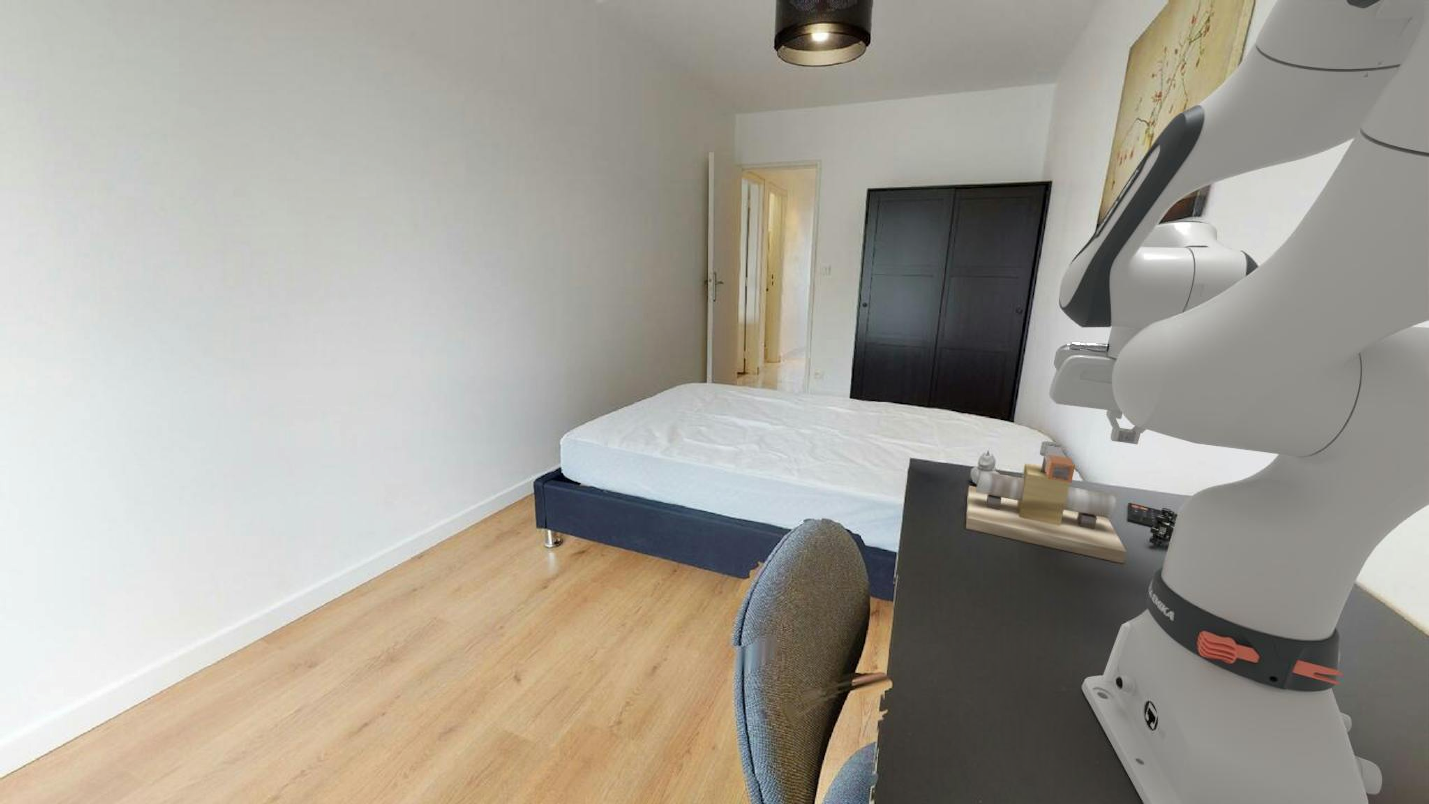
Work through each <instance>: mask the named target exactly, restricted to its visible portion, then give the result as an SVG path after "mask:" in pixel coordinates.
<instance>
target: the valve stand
mask: <svg viewBox="0 0 1429 804" xmlns="http://www.w3.org/2000/svg"><path fill="white" fill-rule="evenodd" d="M1045 467H1046V460H1045V458H1044V457H1043V461H1042V464H1041V465H1037V464H1032V463H1024V466H1023V471H1022V472H1023V473H1022V477H1017V476H1011V475H1008V474H1007V475H1005V474H1000V473H999V474H996V473H990V472H984V471H979V475H978V481H977V484H976V486H972V485H968V490H967V496H966V498H967V499H966V500H967V501H966V519H965V520H966V521H965V523H966V524H965V528H966V530H970V531H975V532H981V533H985V534H989V535H994V536H999V537H1002V538H1007V539H1011V540H1016V541H1019V542H1020V541H1021V542H1025V543H1030V544H1034V545H1037V546H1038V545H1039V546H1042V547H1043V546H1044V547H1047V548H1052V549H1056V550H1061V551H1065V552H1070V553H1074V554H1079V555H1084V556H1088V557H1093V558H1096V559H1103V560H1107V561H1110V562H1114V563H1119V564H1124V563H1125V561H1126V557H1127V550H1126V549H1125V547H1124V544H1123V542H1122V541H1121V539H1120V537H1119V536H1118V533H1116V530H1115V529H1114V527H1113V524H1111V522H1110V520H1112V519H1113V518H1114V516H1115V514H1116V509H1117V497H1116V495H1115V493H1114V494H1112V493H1108V492H1101V491H1096V490H1090V489H1085V488H1078V487H1073V486H1070V484H1071V483H1070V482H1065V481H1059V480H1053V479H1048V478H1047V475H1046V472H1045ZM1109 519H1110V520H1109Z"/></svg>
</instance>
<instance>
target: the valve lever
mask: <svg viewBox="0 0 1429 804" xmlns="http://www.w3.org/2000/svg"><path fill="white" fill-rule="evenodd" d="M1039 455H1040V456H1043V459H1044V458H1045V460H1046V467H1045V472H1046V475H1047V478H1048V479H1053V480H1059V481H1065V482H1070V484H1071V483H1072V481H1073V477H1074V472H1075V467H1076V466H1075V464H1074V462H1073V460H1072V458H1070V457H1066V456H1065V454H1064V452H1063V445H1062V444H1060V443H1058V442H1054V441H1048V440H1047V441H1041V445H1040V450H1039Z"/></svg>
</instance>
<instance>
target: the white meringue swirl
mask: <svg viewBox="0 0 1429 804" xmlns="http://www.w3.org/2000/svg"><path fill="white" fill-rule="evenodd" d="M996 469H997V467H996V458H995V457H994V455H993V454H990V450H987V452H983V453H982V455H981V456H980V457H979V458H978V462H977V466H974V467H972V468H971V469H970V478H971V480H972V483H974V484H975V485H977V481H978V475H979V471H984V472H990V473H996V474H1000V472H998V471H997V470H996Z"/></svg>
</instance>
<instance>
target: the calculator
mask: <svg viewBox="0 0 1429 804" xmlns="http://www.w3.org/2000/svg"><path fill="white" fill-rule="evenodd" d="M1161 510H1162V509H1156V508H1153V507H1149V506H1144V505H1141V504H1136V503H1132V502H1128V504H1127V514H1126V521H1127V523H1131V524H1135V525H1139V526H1142V527H1147V528H1150V529H1151V528H1152V527H1154V526H1155V524H1156V521H1155V517H1156V516H1157V515H1161ZM1177 515H1178V513H1176V512H1174V516H1173V517H1172V516H1170V518H1171V519H1174V520H1176V518H1177ZM1163 522H1164V521H1163ZM1173 525H1174V524H1173Z"/></svg>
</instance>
